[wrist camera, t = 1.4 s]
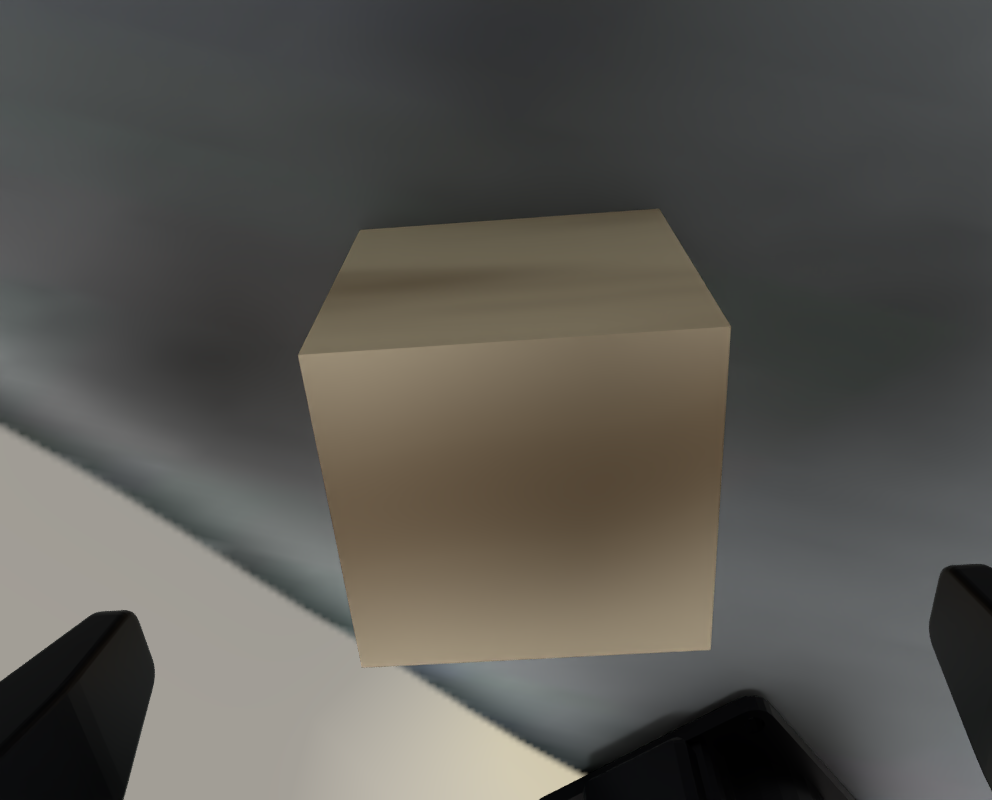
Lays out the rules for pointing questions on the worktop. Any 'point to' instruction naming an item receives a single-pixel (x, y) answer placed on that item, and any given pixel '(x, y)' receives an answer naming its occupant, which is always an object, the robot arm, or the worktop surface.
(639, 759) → the robot arm
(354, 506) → the birch block
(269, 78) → the worktop surface
